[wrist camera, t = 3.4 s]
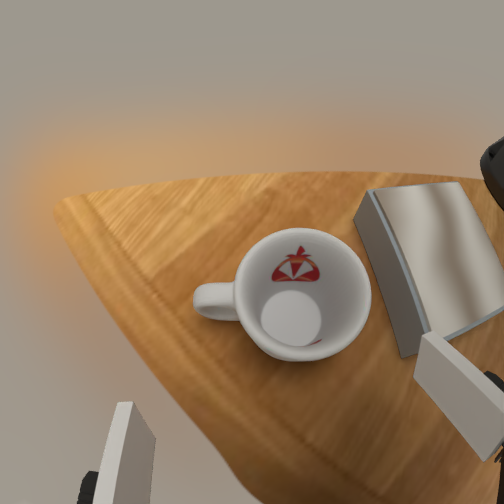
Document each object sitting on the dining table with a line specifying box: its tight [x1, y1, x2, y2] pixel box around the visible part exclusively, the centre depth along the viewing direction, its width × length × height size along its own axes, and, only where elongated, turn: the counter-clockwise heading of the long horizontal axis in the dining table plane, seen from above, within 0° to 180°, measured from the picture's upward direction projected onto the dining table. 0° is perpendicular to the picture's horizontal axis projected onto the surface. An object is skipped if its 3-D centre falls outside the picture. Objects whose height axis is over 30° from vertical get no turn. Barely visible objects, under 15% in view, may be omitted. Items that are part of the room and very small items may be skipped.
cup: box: [193, 228, 371, 361], centre depth 19 cm, size 11×8×8 cm
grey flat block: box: [353, 181, 504, 359], centre depth 22 cm, size 12×14×5 cm
